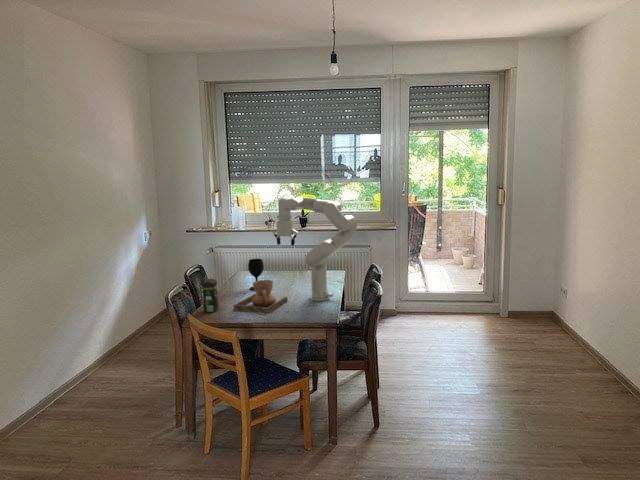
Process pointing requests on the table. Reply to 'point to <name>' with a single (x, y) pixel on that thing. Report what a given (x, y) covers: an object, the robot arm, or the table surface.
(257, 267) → the wine glass
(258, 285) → the ceramic jug
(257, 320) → the table surface
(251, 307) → the walnut bay
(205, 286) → the coffee jar
